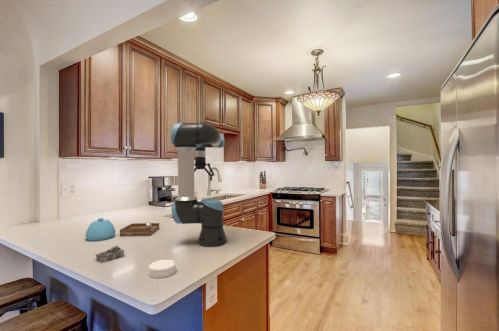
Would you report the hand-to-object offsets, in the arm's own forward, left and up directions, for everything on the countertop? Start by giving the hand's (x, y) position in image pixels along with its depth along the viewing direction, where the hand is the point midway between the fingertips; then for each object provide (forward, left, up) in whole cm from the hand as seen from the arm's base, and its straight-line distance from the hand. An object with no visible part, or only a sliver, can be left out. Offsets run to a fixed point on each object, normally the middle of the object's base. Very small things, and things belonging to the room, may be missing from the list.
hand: (200, 185), depth 181 cm
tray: (-25, +34, -27) cm, 50 cm away
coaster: (-85, +1, -28) cm, 89 cm away
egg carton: (-68, +30, -28) cm, 79 cm away
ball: (-25, +29, -25) cm, 45 cm away
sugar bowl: (-35, +53, -28) cm, 69 cm away
